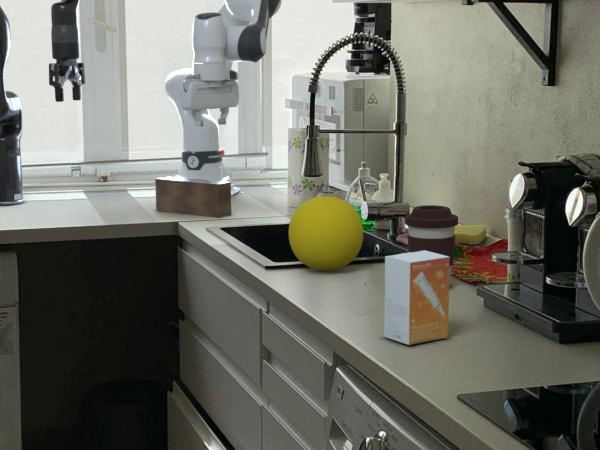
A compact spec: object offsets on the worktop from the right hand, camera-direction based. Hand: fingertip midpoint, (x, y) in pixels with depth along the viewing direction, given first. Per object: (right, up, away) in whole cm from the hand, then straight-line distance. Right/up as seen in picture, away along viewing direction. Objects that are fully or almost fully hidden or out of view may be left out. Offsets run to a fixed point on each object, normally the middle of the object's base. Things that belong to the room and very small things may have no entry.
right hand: (210, 125), depth 283 cm
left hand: (-40, +7, +6) cm, 41 cm away
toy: (+29, -36, -69) cm, 83 cm away
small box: (+42, -45, -120) cm, 135 cm away
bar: (-6, -23, +8) cm, 25 cm away
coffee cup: (+49, -39, -85) cm, 105 cm away
